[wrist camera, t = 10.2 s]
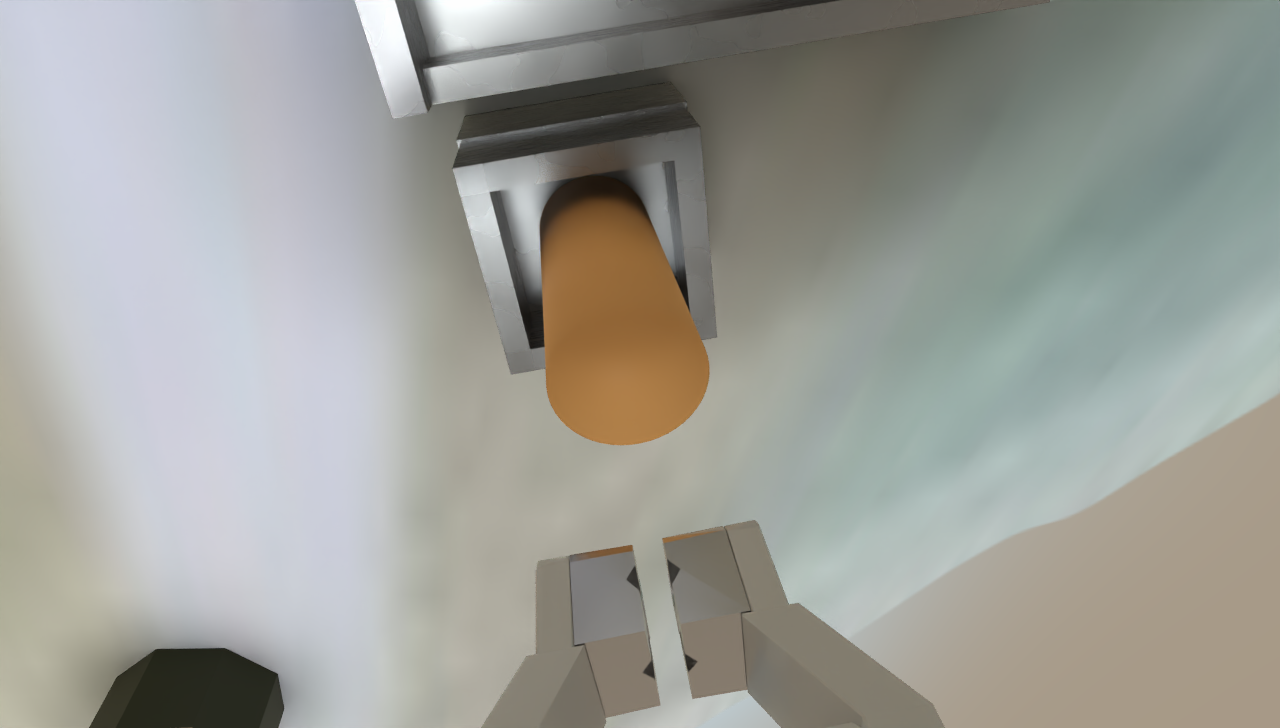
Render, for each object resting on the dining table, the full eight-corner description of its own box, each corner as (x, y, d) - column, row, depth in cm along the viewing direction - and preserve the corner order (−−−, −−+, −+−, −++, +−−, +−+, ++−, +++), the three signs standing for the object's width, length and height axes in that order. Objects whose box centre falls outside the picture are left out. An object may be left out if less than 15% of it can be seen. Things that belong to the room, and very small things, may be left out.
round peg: (641, 166, 22) (702, 292, 14) (655, 269, 24) (715, 428, 16) (528, 186, 22) (529, 325, 14) (552, 288, 24) (564, 458, 16)
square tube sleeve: (670, 82, 23) (703, 121, 19) (689, 268, 27) (720, 339, 23) (464, 116, 23) (447, 165, 19) (513, 299, 27) (508, 377, 22)
